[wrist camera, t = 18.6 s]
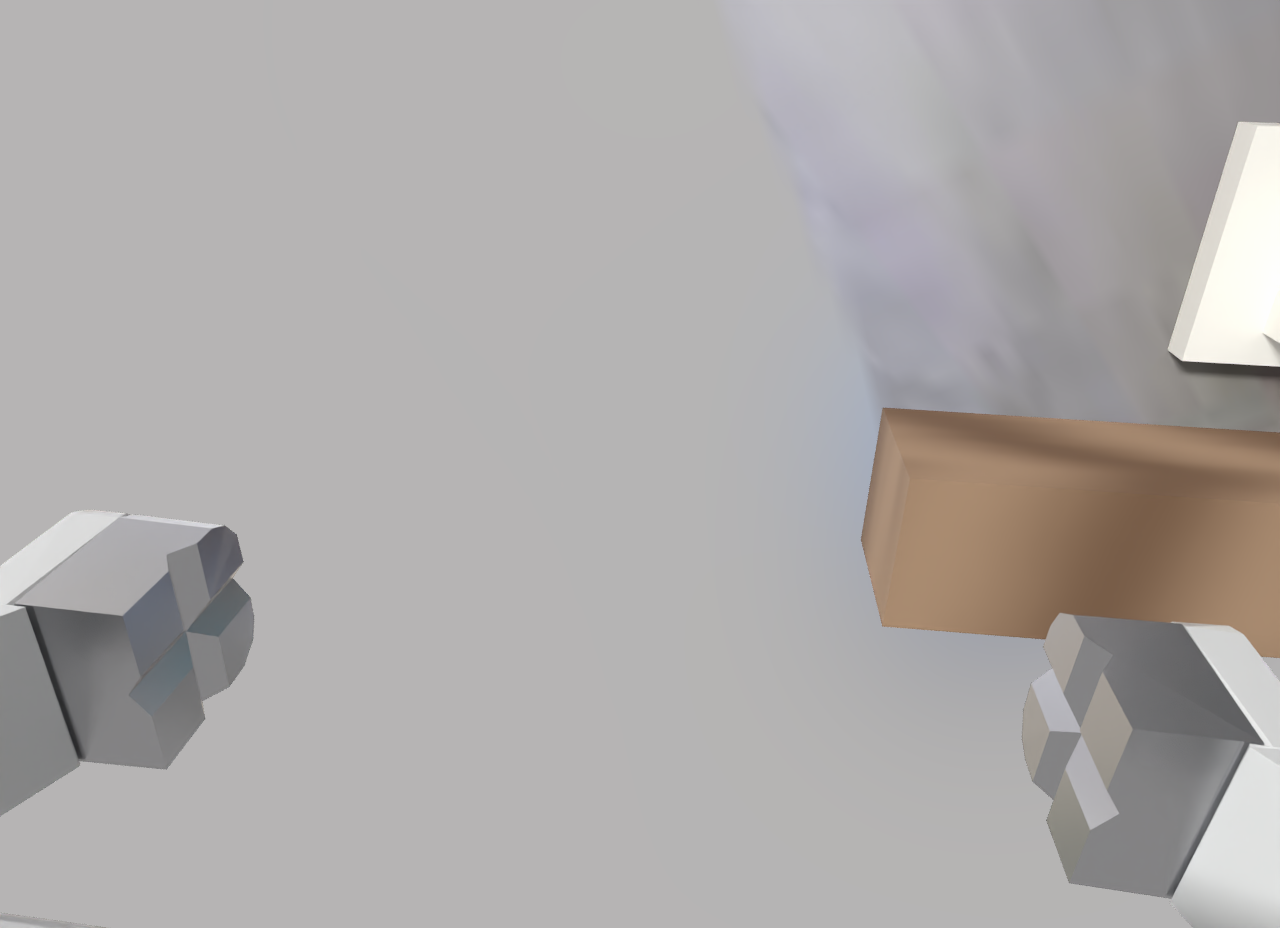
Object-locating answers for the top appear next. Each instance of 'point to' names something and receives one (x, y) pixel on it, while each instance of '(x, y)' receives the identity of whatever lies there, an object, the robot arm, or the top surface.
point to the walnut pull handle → (1072, 524)
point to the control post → (1238, 261)
